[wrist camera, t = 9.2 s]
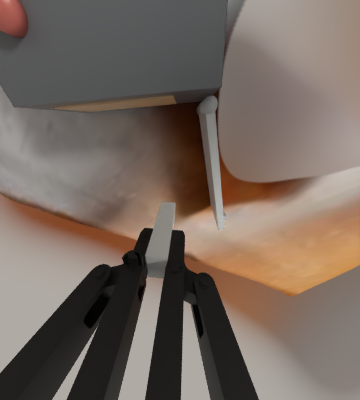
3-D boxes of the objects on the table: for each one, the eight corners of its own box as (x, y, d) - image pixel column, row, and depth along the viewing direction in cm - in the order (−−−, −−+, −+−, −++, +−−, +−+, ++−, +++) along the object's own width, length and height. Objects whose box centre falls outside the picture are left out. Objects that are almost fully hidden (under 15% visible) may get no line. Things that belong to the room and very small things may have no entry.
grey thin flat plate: (195, 105, 18) (201, 97, 12) (208, 101, 18) (221, 92, 12) (209, 204, 27) (217, 230, 21) (218, 203, 27) (228, 229, 20)
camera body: (208, -27, 13) (256, -308, 4) (205, 102, 18) (224, 86, 10) (22, 1, 14) (-223, -178, 6) (69, 114, 19) (-20, 110, 11)
